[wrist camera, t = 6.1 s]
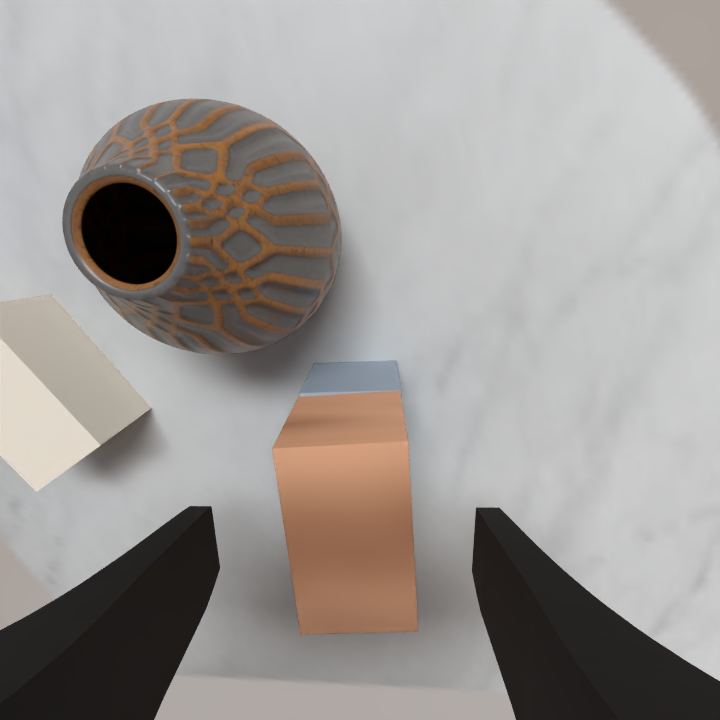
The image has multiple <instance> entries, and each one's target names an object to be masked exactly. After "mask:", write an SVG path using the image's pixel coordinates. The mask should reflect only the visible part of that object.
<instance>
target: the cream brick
mask: <svg viewBox="0 0 720 720" xmlns="http://www.w3.org/2000/svg"><path fill="white" fill-rule="evenodd" d="M150 409H151V406H150V405H149V404H148V403H147V402H146V401H145V400H144V399H143V397H142V396H141V395H140V394H139V393H138V392H137V391H136V390H135V388H134V387H133V386H132V385H131V384H130V383H129V382H128V380H127V379H126V378H125V377H124V376H123V375H122V374H121V373H120V371H119V370H118V369H117V368H116V367H115V366H114V365H113V363H112V362H111V361H110V360H109V359H108V358H107V357H106V356H105V354H104V353H103V352H102V351H101V350H100V349H99V348H98V346H97V345H96V344H95V343H94V342H93V341H92V340H91V339H90V337H89V336H88V335H87V334H86V333H85V332H84V331H83V329H82V328H81V327H80V326H79V325H78V324H77V323H76V322H75V320H74V319H73V318H72V317H71V316H70V315H69V314H68V312H67V311H66V310H65V309H64V308H63V307H62V306H61V305H60V303H59V302H58V301H57V300H56V299H55V298H54V297H53V295H52V294H51V295H44V296H38V297H32V298H26V299H19V300H13V301H7V302H1V303H0V456H1V457H2V458H3V459H4V460H5V461H6V462H7V463H8V464H9V465H10V466H11V467H12V468H13V469H14V470H15V471H16V472H17V473H18V474H19V475H20V476H21V477H22V478H23V479H24V480H25V481H26V482H27V483H28V484H29V485H30V486H31V487H32V488H33V489H34V490H35V491H36V492H37V491H38V490H40V489H41V488H43V487H44V486H45V485H47V484H48V483H50V482H51V481H52V480H54V479H55V478H56V477H58V476H59V475H61V474H62V473H63V472H65V471H66V470H67V469H69V468H70V467H72V466H73V465H74V464H76V463H77V462H78V461H80V460H81V459H83V458H84V457H85V456H87V455H88V454H89V453H91V452H92V451H94V450H95V449H96V448H98V447H99V446H101V445H102V444H103V443H105V442H106V441H107V440H109V439H110V438H111V437H113V436H114V435H115V434H117V433H118V432H120V431H121V430H122V429H124V428H125V427H126V426H128V425H129V424H130V423H132V422H133V421H135V420H136V419H137V418H139V417H140V416H141V415H143V414H144V413H145V412H147V411H148V410H150Z"/></svg>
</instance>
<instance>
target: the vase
mask: <svg viewBox="0 0 720 720" xmlns="http://www.w3.org/2000/svg"><path fill="white" fill-rule="evenodd" d="M63 233H64V238H65V242H66V245H67V248H68V251H69V253H70V255H71V257H72V259H73V261H74V263H75V264H76V266H77V267H78V269H79V270H80V271H81V272H82V274H83V275H84V276H85V277H86V278H87V279H88V280H89V281H90V282H91V283H93V284H94V285H95V286H96V288H97V289H98V291H99V292H100V294H101V295H102V296H103V297H104V299H105V300H106V301H107V302H108V304H109V305H110V306H111V307H112V308H113V309H114V310H115V311H116V312H117V313H118V314H119V315H120V316H121V317H123V318H124V319H125V320H126V321H127V322H128V323H130V324H131V325H132V326H134V327H135V328H136V329H138V330H140V331H141V332H143V333H144V334H146V335H148V336H150V337H151V338H153V339H156V340H158V341H160V342H162V343H165V344H167V345H170V346H172V347H176V348H179V349H182V350H187V351H192V352H197V353H204V354H235V353H243V352H249V351H253V350H257V349H260V348H263V347H266V346H269V345H271V344H273V343H276V342H278V341H280V340H282V339H283V338H285V337H287V336H288V335H290V334H291V333H293V332H294V331H295V330H297V329H298V328H299V327H301V326H302V325H303V324H304V323H305V322H306V321H307V320H308V319H309V318H310V317H311V316H312V315H313V314H314V313H315V311H316V310H317V309H318V308H319V306H320V305H321V303H322V302H323V300H324V299H325V297H326V295H327V294H328V292H329V290H330V288H331V286H332V283H333V281H334V278H335V275H336V272H337V268H338V264H339V259H340V252H341V226H340V218H339V213H338V209H337V205H336V202H335V199H334V196H333V193H332V191H331V188H330V186H329V184H328V182H327V180H326V178H325V176H324V174H323V173H322V171H321V169H320V168H319V166H318V165H317V163H316V162H315V160H314V159H313V158H312V156H311V155H310V154H309V153H308V151H307V150H306V149H305V148H304V147H303V146H302V145H301V144H300V143H299V142H298V141H297V140H296V139H295V138H294V137H293V136H292V135H290V134H289V133H288V132H287V131H286V130H284V129H283V128H282V127H280V126H279V125H278V124H276V123H275V122H273V121H271V120H270V119H268V118H266V117H264V116H262V115H260V114H258V113H256V112H254V111H252V110H249V109H247V108H244V107H241V106H238V105H235V104H231V103H227V102H222V101H216V100H209V99H180V100H172V101H167V102H162V103H158V104H154V105H151V106H148V107H146V108H143V109H141V110H139V111H137V112H135V113H133V114H131V115H129V116H127V117H126V118H124V119H123V120H121V121H120V122H118V123H117V124H116V125H115V126H113V127H112V128H111V129H110V130H109V131H108V132H107V133H106V134H105V135H104V136H103V137H102V138H101V140H100V141H99V142H98V143H97V145H96V146H95V147H94V149H93V150H92V152H91V153H90V155H89V157H88V158H87V160H86V162H85V164H84V167H83V169H82V171H81V174H80V177H79V180H78V181H77V182H76V183H75V184H74V186H73V187H72V189H71V190H70V192H69V194H68V196H67V199H66V202H65V205H64V210H63Z"/></svg>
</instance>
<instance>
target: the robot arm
mask: <svg viewBox="0 0 720 720" xmlns="http://www.w3.org/2000/svg"><path fill="white" fill-rule="evenodd" d="M219 569H220V565H219V557H218V550H217V543H216V536H215V529H214V521H213V514H212V507H211V506H190V507H188V508H187V509H185V510H184V511H182V512H181V513H179V514H178V515H176V516H175V517H174V518H172V519H171V520H170V521H168V522H167V523H166V524H164V525H163V526H162V527H160V528H159V529H158V530H156V531H155V532H154V533H152V534H151V535H149V536H148V537H147V538H145V539H144V540H143V541H141V542H140V543H139V544H137V545H136V546H135V547H133V548H132V549H130V550H129V551H128V552H126V553H125V554H124V555H122V556H121V557H119V558H118V559H116V560H115V561H113V562H112V563H110V564H109V565H108V566H106V567H105V568H103V569H102V570H100V571H99V572H97V573H96V574H94V575H93V576H91V577H90V578H89V579H87V580H86V581H84V582H83V583H81V584H80V585H78V586H76V587H75V588H73V589H72V590H70V591H68V592H67V593H65V594H64V595H62V596H60V597H59V598H57V599H55V600H54V601H52V602H50V603H49V604H47V605H45V606H44V607H42V608H40V609H39V610H37V611H35V612H33V613H32V614H30V615H28V616H26V617H24V618H23V619H21V620H19V621H17V622H15V623H13V624H11V625H9V626H7V627H6V628H4V629H2V630H0V720H154V719H155V716H156V714H157V712H158V709H159V707H160V705H161V702H162V700H163V698H164V696H165V694H166V691H167V689H168V687H169V685H170V683H171V681H172V679H173V677H174V675H175V673H176V671H177V669H178V667H179V665H180V663H181V660H182V658H183V656H184V654H185V652H186V650H187V648H188V646H189V644H190V642H191V640H192V638H193V635H194V633H195V631H196V629H197V627H198V625H199V623H200V620H201V618H202V616H203V614H204V612H205V610H206V607H207V605H208V602H209V599H210V597H211V594H212V591H213V588H214V585H215V582H216V579H217V576H218V573H219ZM472 573H473V578H474V583H475V588H476V593H477V597H478V602H479V606H480V610H481V614H482V617H483V620H484V623H485V626H486V629H487V632H488V635H489V638H490V641H491V644H492V647H493V650H494V653H495V656H496V659H497V662H498V665H499V668H500V671H501V674H502V677H503V680H504V683H505V686H506V689H507V692H508V695H509V698H510V701H511V704H512V708H513V711H514V714H515V718H516V720H720V681H718V680H717V679H715V678H713V677H712V676H710V675H708V674H707V673H705V672H703V671H702V670H700V669H698V668H697V667H695V666H693V665H692V664H690V663H689V662H687V661H685V660H684V659H682V658H681V657H679V656H678V655H676V654H675V653H673V652H672V651H670V650H668V649H667V648H665V647H664V646H662V645H661V644H659V643H658V642H656V641H655V640H653V639H652V638H650V637H649V636H647V635H646V634H644V633H643V632H642V631H640V630H639V629H637V628H636V627H634V626H633V625H632V624H630V623H629V622H628V621H626V620H625V619H624V618H622V617H621V616H620V615H618V614H617V613H615V612H614V611H613V610H611V609H610V608H609V607H607V606H606V605H605V604H603V603H602V602H601V601H600V600H598V599H597V598H596V597H595V596H593V595H592V594H591V593H590V592H588V591H587V590H586V589H585V588H584V587H583V586H581V585H580V584H579V583H578V582H577V581H575V580H574V579H573V578H572V577H571V576H570V575H568V574H567V573H566V572H565V571H564V570H563V569H562V568H561V567H559V566H558V565H557V564H556V563H555V562H554V561H553V560H552V559H551V558H550V557H549V556H548V555H546V554H545V553H544V552H543V551H542V550H541V549H540V548H539V547H538V546H537V545H536V544H535V543H534V542H533V541H532V540H531V539H530V538H529V537H528V536H527V535H526V534H525V533H524V532H523V531H522V530H521V529H520V528H519V527H518V526H517V525H516V524H515V523H514V522H513V521H512V520H511V519H510V518H509V517H508V516H507V515H506V514H505V513H504V512H503V511H502V510H501V509H500V508H476V518H475V533H474V548H473V564H472Z"/></svg>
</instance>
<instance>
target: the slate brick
mask: <svg viewBox="0 0 720 720" xmlns="http://www.w3.org/2000/svg"><path fill="white" fill-rule="evenodd" d="M383 391H400V393H401V399H402V391H401V384H400V378H399V372H398V366H397V361H368V362H338V363H314V365H313V367H312V369H311V371H310V373H309V375H308V377H307V379H306V381H305V383H304V385H303V387H302V389H301V391H300V393H299V396H300V397H302V396H318V395H335V394H351V393H367V392H383Z"/></svg>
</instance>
